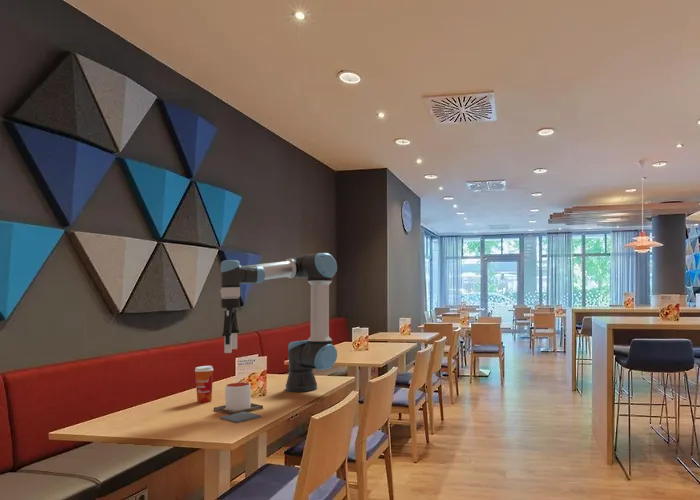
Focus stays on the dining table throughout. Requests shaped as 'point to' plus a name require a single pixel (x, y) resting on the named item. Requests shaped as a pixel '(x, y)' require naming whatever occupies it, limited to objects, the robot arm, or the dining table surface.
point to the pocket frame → (223, 410)
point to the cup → (238, 396)
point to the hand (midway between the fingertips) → (231, 350)
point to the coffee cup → (204, 383)
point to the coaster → (241, 417)
